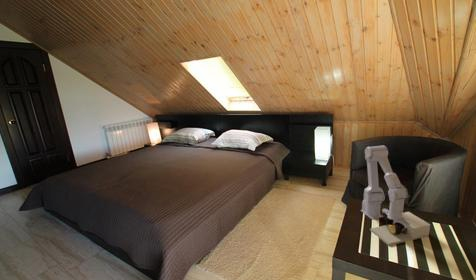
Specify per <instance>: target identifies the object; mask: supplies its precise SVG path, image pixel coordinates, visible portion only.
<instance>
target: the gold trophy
mask: <svg viewBox="0 0 476 280" xmlns="http://www.w3.org/2000/svg"><path fill="white" fill-rule="evenodd" d="M396 223H398V222H397V221H396ZM387 229H388V231H389V232H390V233H392V234H393V233H395V225H394V224H390V225H388V226H387ZM406 231H407V228H405V227H404V228H403V230H402V231H401V232H403V233H404V234H406Z"/></svg>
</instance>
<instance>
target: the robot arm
mask: <svg viewBox="0 0 476 280" xmlns="http://www.w3.org/2000/svg"><path fill="white" fill-rule="evenodd" d="M388 156H389V150H388V148H387V146H385V145H383V144H381V145H375V146H374V145H373V146H367V147H366V148H365V149H364V158H365V159H364V160H366V166H367V181H368V183H367V184H368V186H367V187H365V188H364V189H363V190H364V191H363V200H362V203H361V209H360V212H362V213H363V214H364V215H366V216H367V217H368V218H369V219H371V220H375V219H379V218H383V219H384V220H385V223H386V225H387V226H388V225H390V224H393V221H397V222H398V223H394V225H395V234H396V235H399V234H400V233H401V231H402V230H403V228H404V227H405V228H409V227H410V224H409V223H408V222H407V221H406V220H405V219H404V218H403V217H402V215H403V213H404V205H405V199H407V198H408V196H409V193H408V192H409V191H408V189H407V188H406V186H404V185H403V184H402V183H401V181H400V179H399V176H398V174H396V172H394V171H393V169H392V166H391V164H390V161H389V158H388ZM378 163H379V166H380V167H381V170H382V172H383V173H384V176H383V178H384V181H385V182H386V185H387V187H388V190H387V193H388V199H389V207H388V208H389V209H388V208H386V207H385V208H382V213H384V214H385V215H382V214H381V204H382V203H383V202H384V201H385V199H386V196H385V194H384V189H382V187H379V186H380V185H379V173H378Z"/></svg>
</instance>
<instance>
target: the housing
mask: <svg viewBox="0 0 476 280" xmlns="http://www.w3.org/2000/svg"><path fill="white" fill-rule="evenodd" d="M402 217H403V218H404V219H405V220H406V221H407V222H408V223H409V224H410V227H409V228H407V231H406V234H404V233H403V232H401V233H400V234H399V235H396V234H395V233H393V234H392V233H390V232H389V231H388V229H387V224H386V225H385V224H384V225H381V226H377V227H371V228H369V231H370V232H371V233H372V234H373V235H375V236H376V235H377V236H378V237H377V236H376V237H377V238H378V239H380V240H381V242H384V244H386V245H387V246H391V245H396V244H397V245H398V244H401V243H405V242H409V241H413V240H417V239H418V238H419V239H423V238H427V237H429V235H430V229H431V224H430V223H428V222H426V221H425V220H424V219H422V218H420V217H418V216H417V215H415V214H413V213H412V212H410V211H405V212H404V211H403V215H402ZM394 223H396V221H393V224H394ZM422 237H423V238H422ZM419 239H418V240H419Z"/></svg>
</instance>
